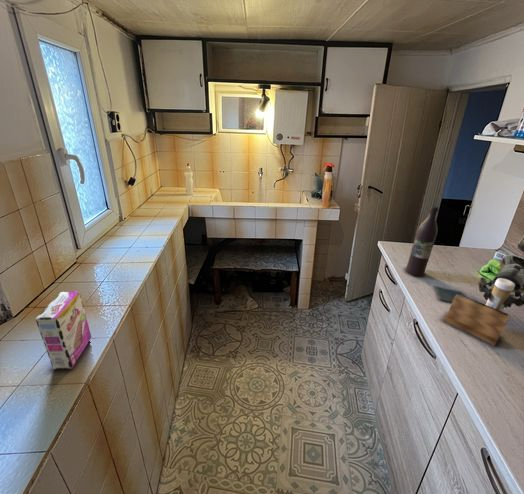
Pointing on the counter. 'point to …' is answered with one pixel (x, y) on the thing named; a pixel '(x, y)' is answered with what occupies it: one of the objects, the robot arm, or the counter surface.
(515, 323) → the counter surface
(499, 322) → the magnetic knife rack
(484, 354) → the counter surface
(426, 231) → the wine bottle
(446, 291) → the mat
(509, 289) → the sprinkles bottle
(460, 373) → the counter surface
